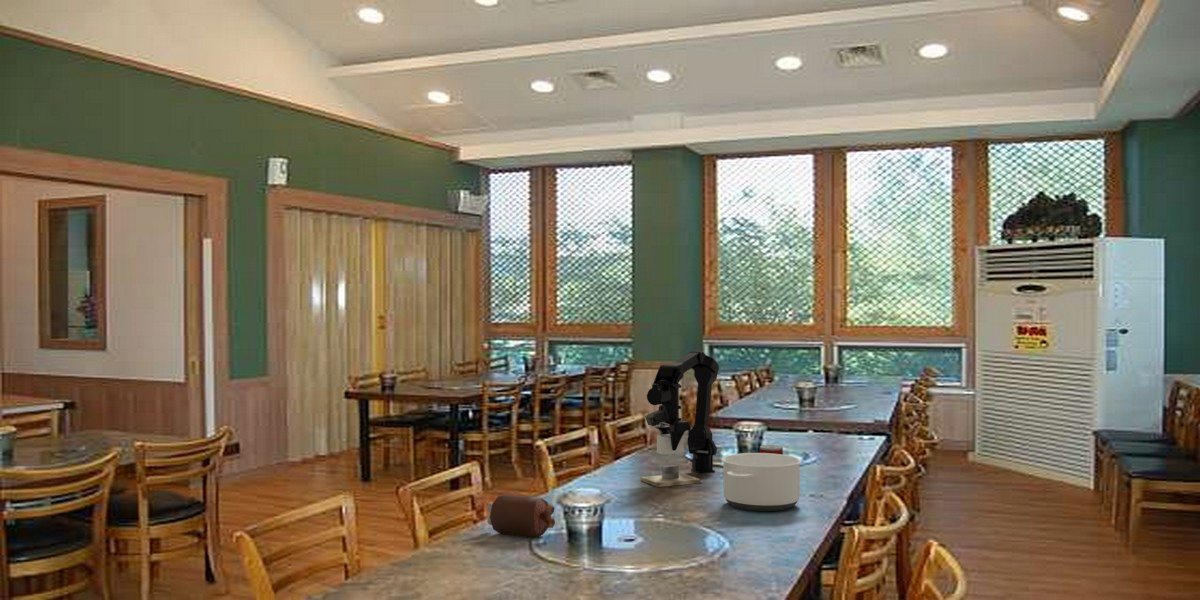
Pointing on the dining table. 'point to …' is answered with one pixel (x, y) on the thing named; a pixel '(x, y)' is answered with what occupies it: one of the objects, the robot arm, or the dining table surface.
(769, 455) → the pot
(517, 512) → the meat
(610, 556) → the dining table surface
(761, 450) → the canned food
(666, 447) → the white rounded cube
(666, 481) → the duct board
